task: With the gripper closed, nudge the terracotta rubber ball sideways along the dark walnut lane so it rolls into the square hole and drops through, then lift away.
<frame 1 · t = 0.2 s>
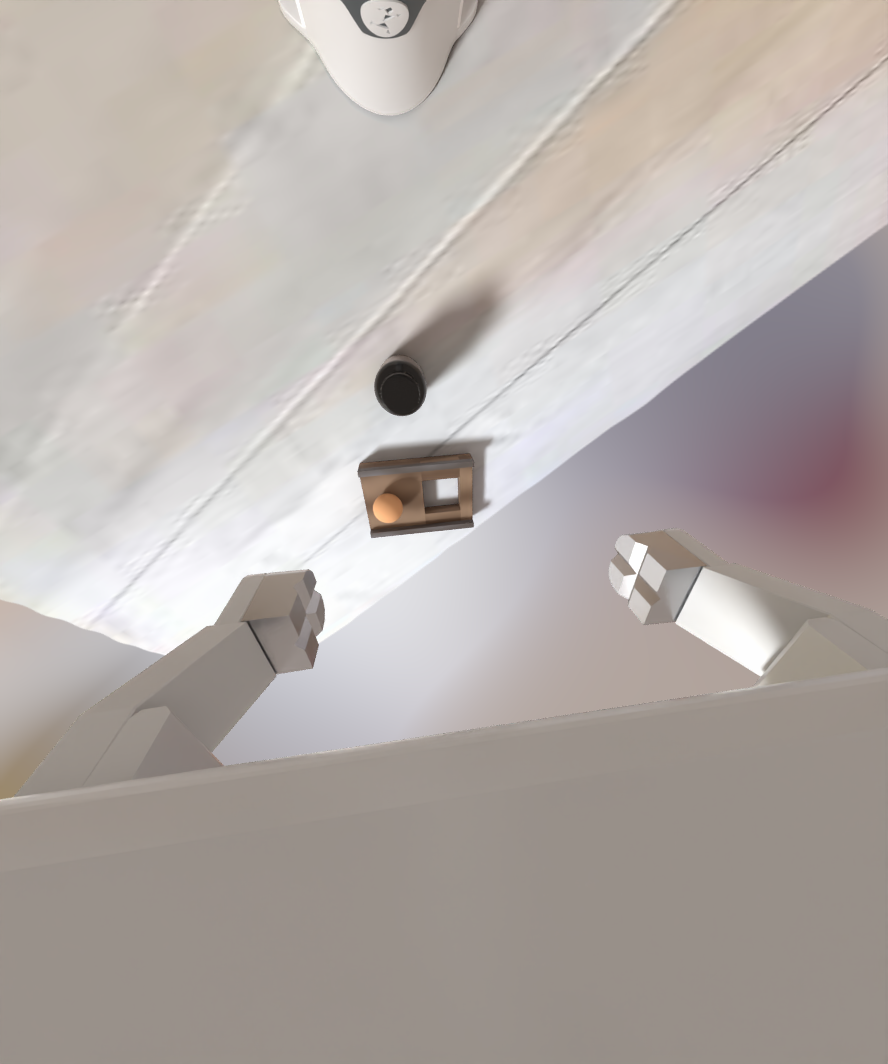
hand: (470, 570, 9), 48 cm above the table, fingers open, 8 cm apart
ball: (388, 508, 55), point 5 cm above the table, touching lane
lane: (418, 492, 60), on the table
supplement bottle: (400, 379, 49), on the table
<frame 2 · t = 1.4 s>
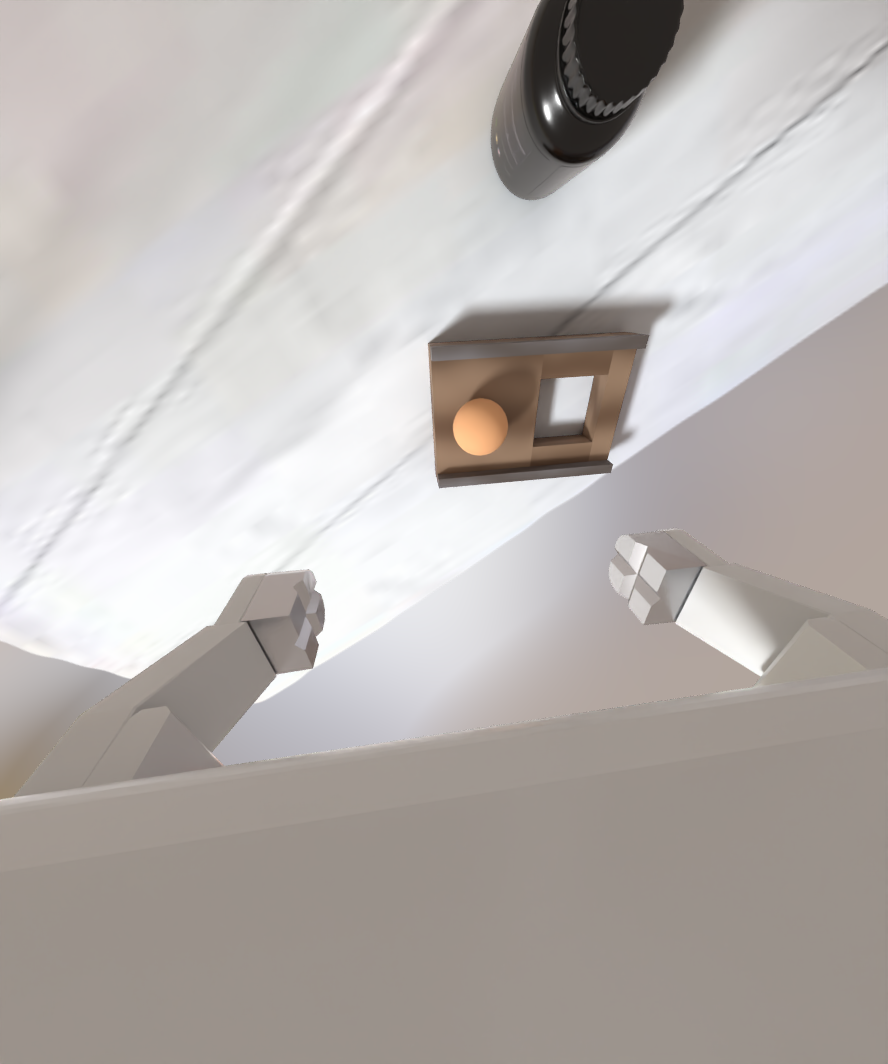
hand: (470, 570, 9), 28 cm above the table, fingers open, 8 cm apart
ball: (480, 427, 30), point 5 cm above the table, touching lane
lane: (521, 408, 34), on the table
supplement bottle: (533, 137, 23), on the table
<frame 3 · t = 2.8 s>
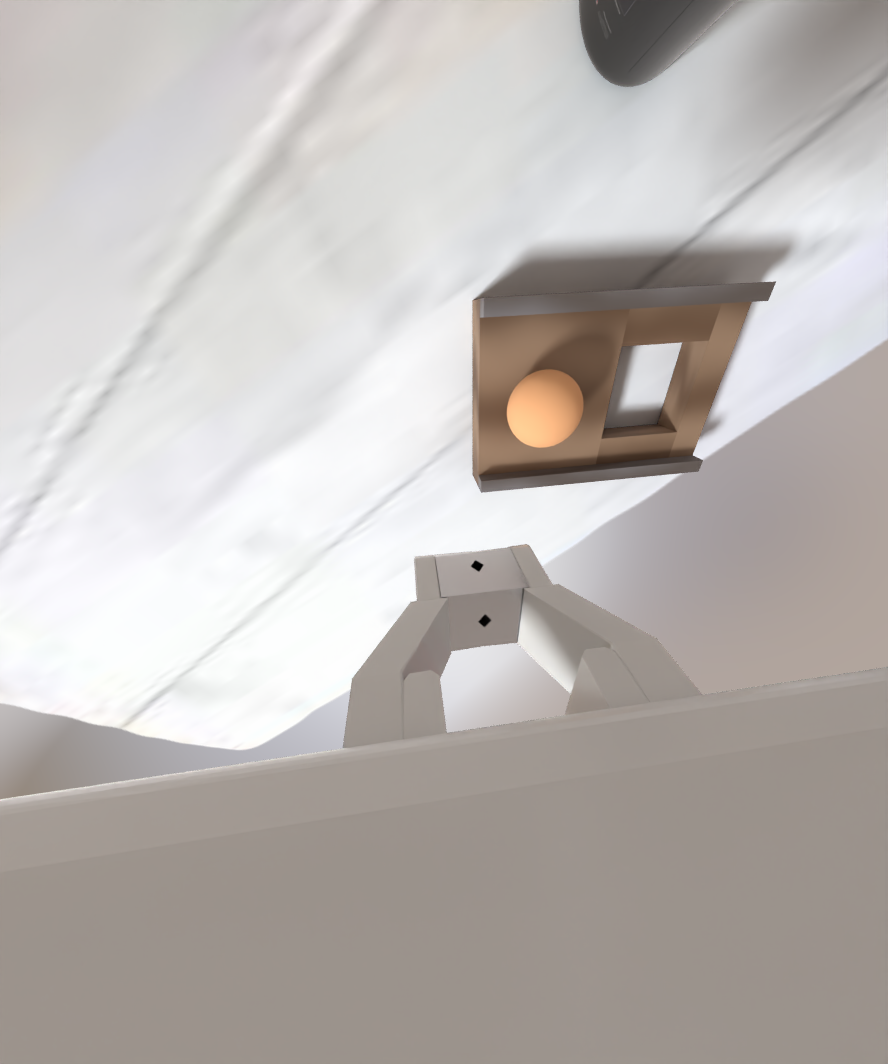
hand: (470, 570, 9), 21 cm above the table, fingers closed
ball: (543, 410, 22), point 5 cm above the table, touching lane
lane: (586, 390, 27), on the table
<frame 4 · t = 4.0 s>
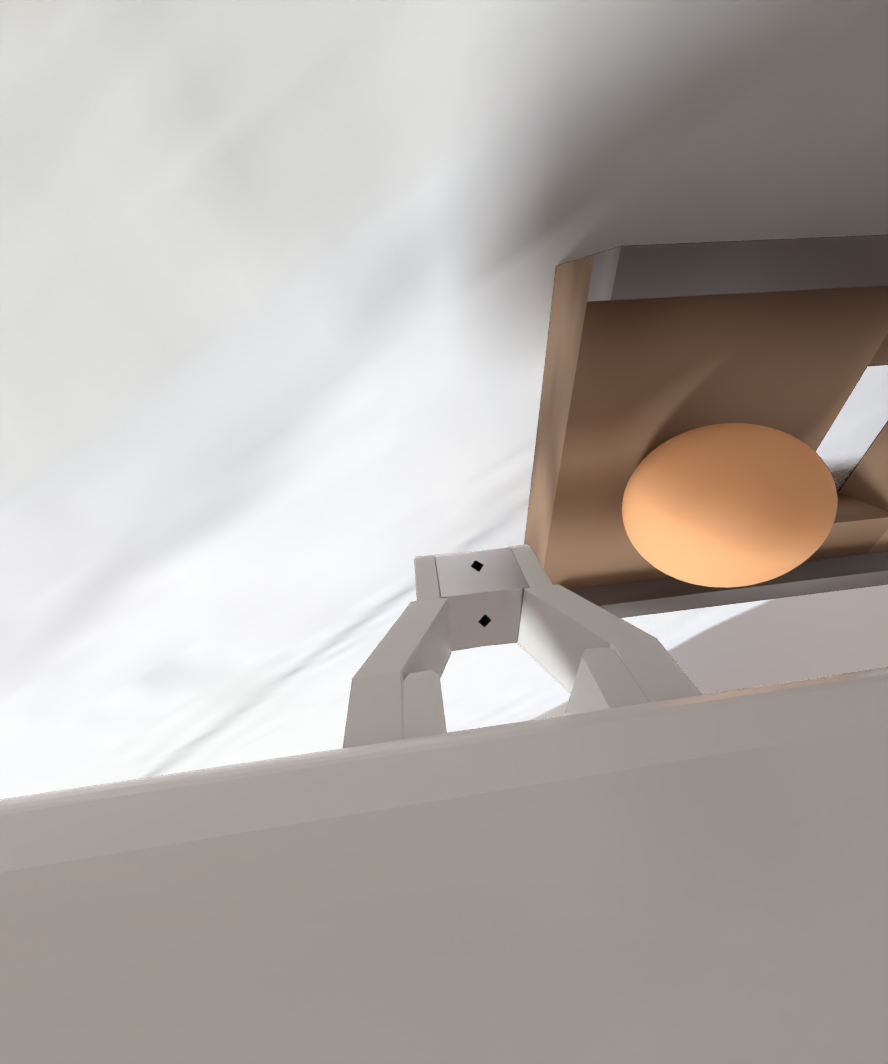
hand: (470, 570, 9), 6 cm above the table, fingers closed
ball: (712, 506, 10), point 5 cm above the table, touching lane
lane: (738, 441, 15), on the table
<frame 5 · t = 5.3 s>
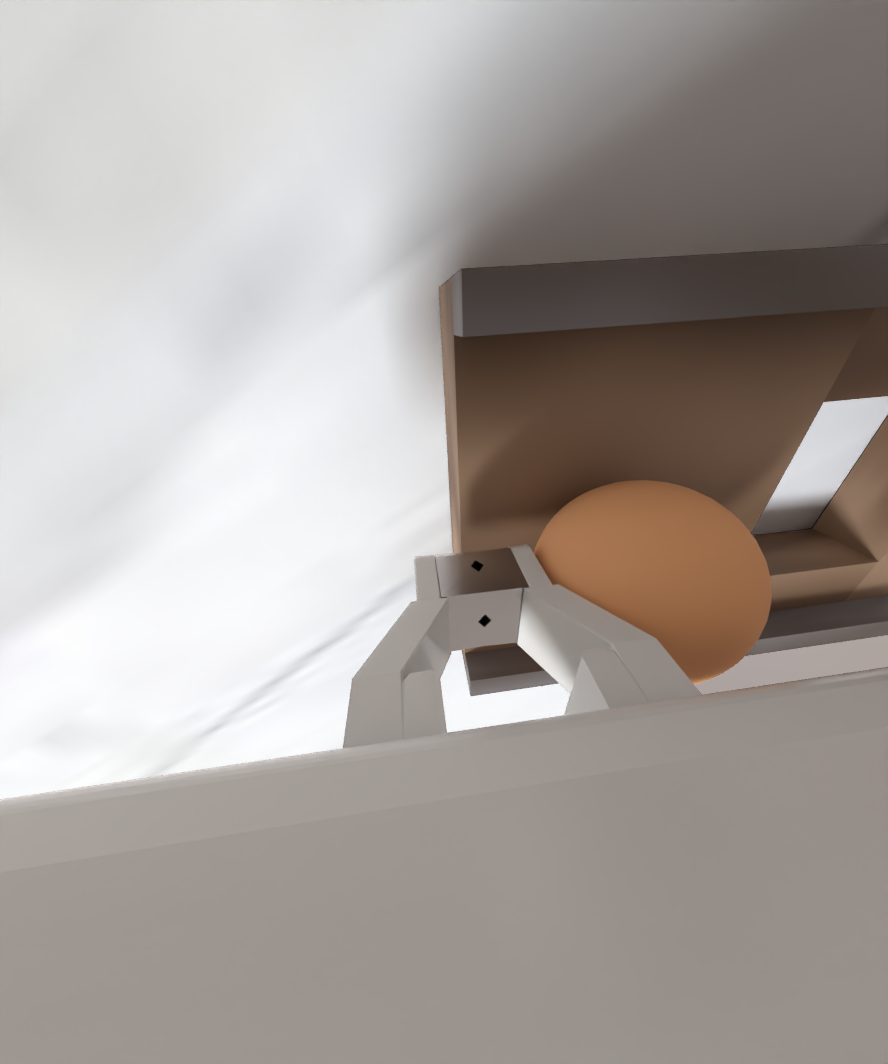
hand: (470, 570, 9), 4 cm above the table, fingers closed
ball: (632, 579, 8), point 5 cm above the table, touching gripper, lane
lane: (689, 478, 13), on the table
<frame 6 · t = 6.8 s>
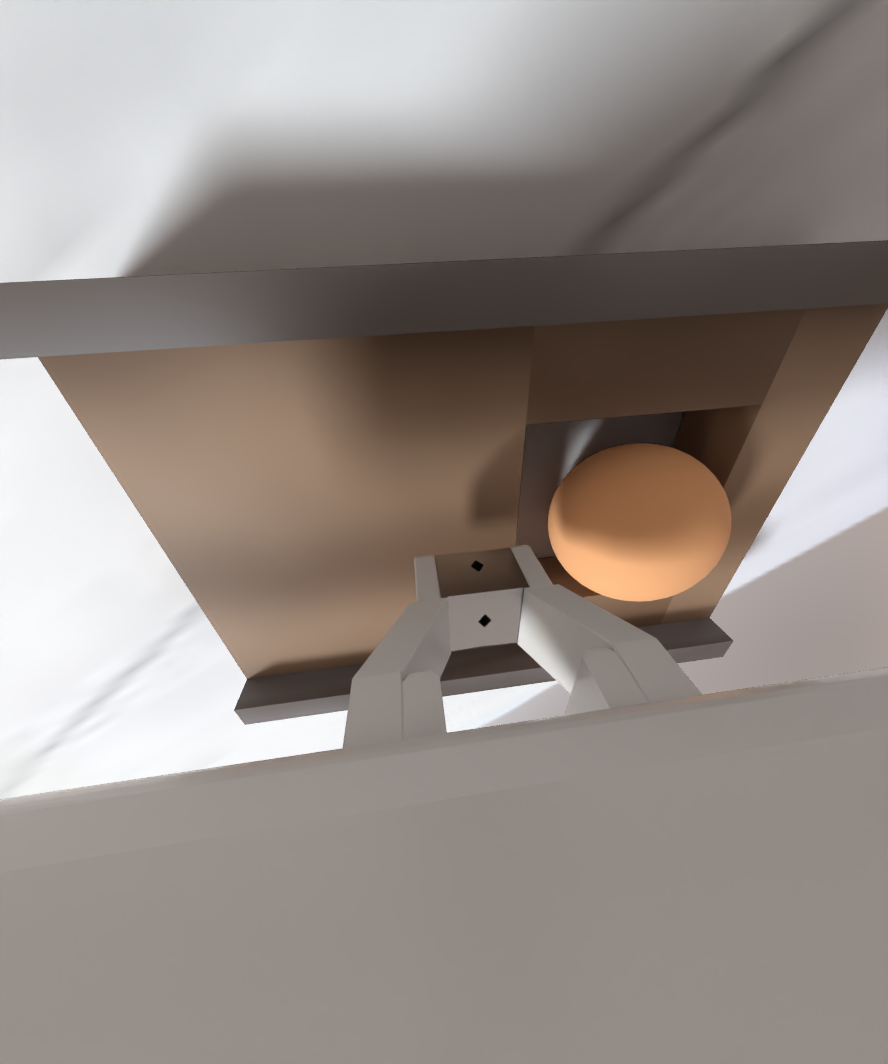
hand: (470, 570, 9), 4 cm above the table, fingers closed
ball: (628, 522, 11), point 2 cm above the table, tilted 102°
lane: (478, 497, 12), on the table
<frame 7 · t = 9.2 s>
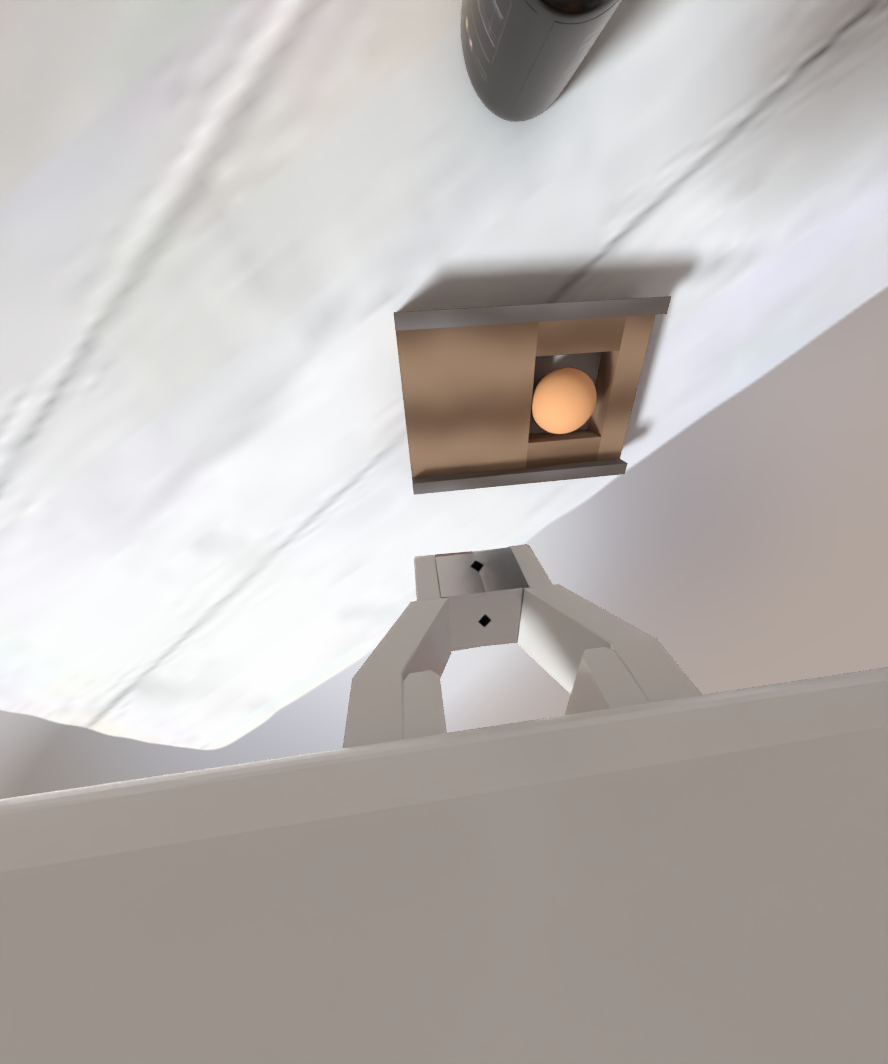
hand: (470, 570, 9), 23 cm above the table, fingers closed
ball: (562, 401, 26), point 2 cm above the table, tilted 128°
lane: (513, 397, 28), on the table
supplement bottle: (517, 36, 18), on the table
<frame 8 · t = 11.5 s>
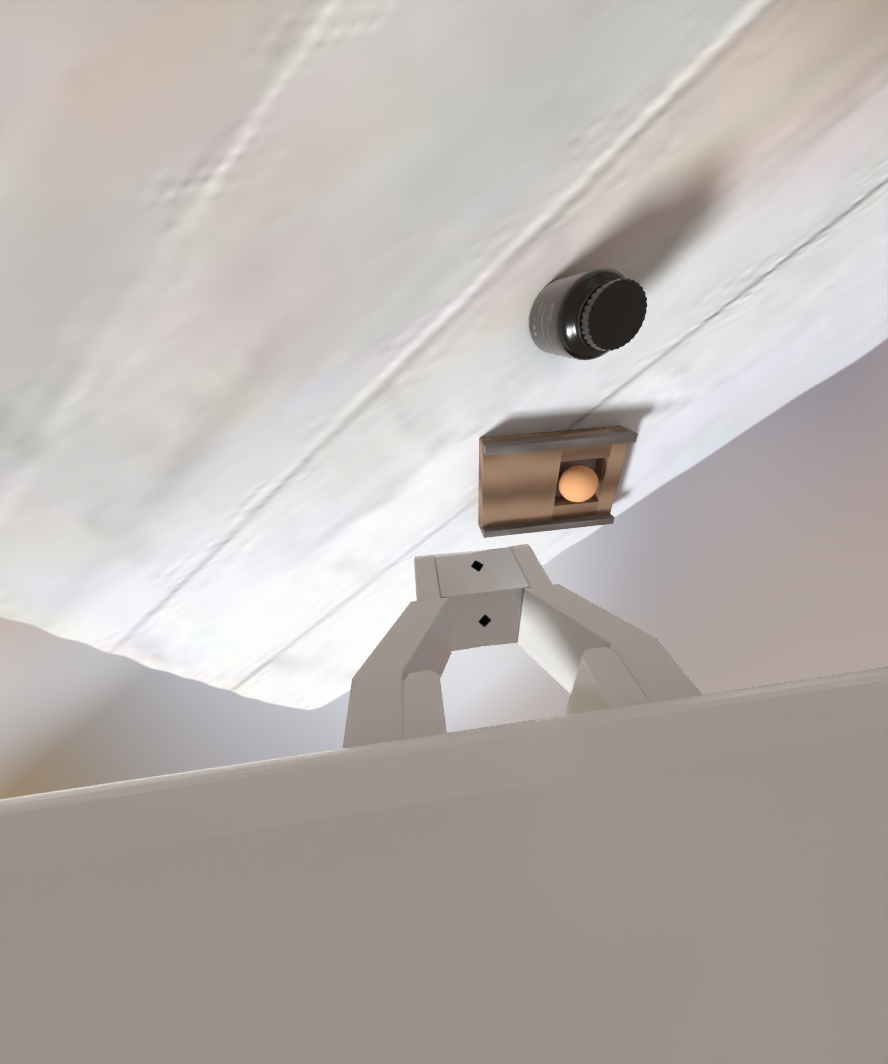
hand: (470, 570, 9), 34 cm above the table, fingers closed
ball: (577, 483, 44), point 2 cm above the table, tilted 120°
lane: (545, 477, 46), on the table
supplement bottle: (556, 317, 36), on the table
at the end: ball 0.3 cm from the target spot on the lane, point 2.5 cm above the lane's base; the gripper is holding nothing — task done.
